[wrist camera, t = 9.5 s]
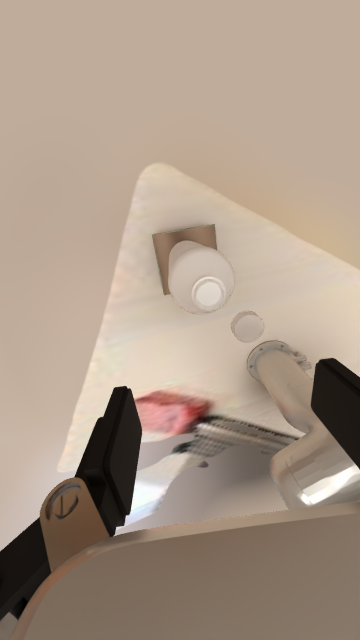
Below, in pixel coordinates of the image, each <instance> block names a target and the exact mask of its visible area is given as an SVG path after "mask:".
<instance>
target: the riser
mask: <svg viewBox="0 0 360 640" xmlns="http://www.w3.org/2000/svg"><path fill="white" fill-rule="evenodd" d="M152 237H153V242H154V247H155V252H156V257H157V263H158V268H159V273H160V278H161V283H162V288H163V293H164V295H168V294H171V293H170V291H169V286H168V275H169V254H170V252H171V250H172V248H173V247H174V246H175V245H176V244H177V243H179V242H181V241H187V240H188V241H193V242H196V243H199V244H201V245H203V246H206V247H210V248H213V249H215V250H217V245H216V233H215V224H212V225H206V226H200V227H194V228H188V229H183V230H177V231H171V232H165V233H159V234H153V235H152Z"/></svg>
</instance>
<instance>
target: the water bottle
mask: <svg viewBox="0 0 360 640" xmlns="http://www.w3.org/2000/svg"><path fill="white" fill-rule="evenodd" d="M168 286H169V291H170V293H171V296H172V298H173V299H174V301H175V302H176V303H177V304H178V305H179V306H180V307H181V308H183V309H184V310H186V311H188V312H191V313H195V314H206V313H210V312H213V311H215V310H217V309H219V308H220V307H222V306H223V305H224V304H225V303H226V302H227V300H228V299H229V297H230V296H231V294H232V291H233V287H234V272H233V269H232V266H231V264H230V262H229V261H228V259H227V258H226V257H225V256H224V255H223V254H222V253H220V252H219V251H217V250H215V249H213V248H210V247H206V246H203V245H201V244H199V243H196V242H193V241H188V240H187V241H181V242H179V243H177V244H176V245H175V246H174V247H173V248H172V250H171V252H170V254H169V275H168ZM231 329H232V332H233V333H234V335H235V336H236V338H237V339H238V340H240V341H242V342H251V341H254V340H256V339H258V338H259V337H260V336H261V334H262V333H263V330H264V323H263V321H262V319H261V318H260V317H259V316H258V315H257V314H256V313H254V312H252V311H243V312H240V313H239V314H237V315H236V316H235V317H234V318H233V320H232V323H231Z"/></svg>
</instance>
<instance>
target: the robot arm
mask: <svg viewBox="0 0 360 640" xmlns="http://www.w3.org/2000/svg"><path fill="white" fill-rule="evenodd" d="M306 360H307V358H306V356H305V355H304V356H299V357H296V356H294V354H293V351H292V350H291V348H290V347H289V346H288V345H286V344H285V343H282V342H279V341H270V342H266V343H263V344H261V345H259V346H258V347H256V348H255V349H254V350H253V351H252V352H251V354H250V356H249V358H248V361H247V367H248V370H249V372H250V374H251V375H252V376H253V377H254V378H255V379H257V380H259V381H262V383H263V384H264V386H265V388H266V389H267V391H268V392H269V394H270V396H271V397H272V399H273V400H274V402H275V404H276V405H277V407H278V408H279V410H280V412H281V413H282V415H283V416H284V418H285V419H286V421H287V422H288V423H289V424H290V425H292V426H293V427H294V428H296V429H298V430H300V431H302V432H304V433H306V435H304V436H303V437H302V438H300V439H299V440H297V441H296V442H294V443H292V444H291V445H289V446H287V447H286V448H284V449H283V450H281V451H280V452H278V453H277V454H275V455H274V456H273V458H272V459H271V461H270V471H271V475H272V478H273V480H274V483H275V485H276V487H277V489H278V491H279V493H280V495H281V496H282V498H283V500H284V502H285V504H286V506H287V507H288V509H289V510H283V511H276V512H267V513H259V514H251V515H244V516H236V517H229V518H221V519H213V520H206V521H198V522H191V523H184V524H176V525H171V526H163V527H158V528H151V529H144V530H138V531H134V532H130V533H125V534H120V535H117V536H114V535H115V531H116V527H119V526H124V524H125V518H126V515H129V514H130V511H131V505H132V498H133V491H134V485H135V478H136V471H137V464H138V457H139V450H140V443H141V437H142V427H141V423H140V419H139V416H138V412H137V409H136V405H135V402H134V398H133V394H132V391H131V389H130V388H129V389H128V388H127V386H122V387H115V388H114V389H113V392H112V395H111V397H110V400H109V403H108V405H107V408H106V411H105V414H104V416H103V417H100V418H98V420H97V422H96V424H95V427H94V429H93V432H92V434H91V437H90V439H89V442H88V444H87V447H86V449H85V452H84V454H83V457H82V459H81V462H80V464H79V467H78V469H77V472H76V474H75V477H74V478H70V479H67V480H65V481H63V482H61V483H60V484H58V485H57V486H56V487H55V488H54V489H53V490H52V491H51V492H50V493H49V494H48V496H47V497H46V499H45V500H44V502H43V504H42V507H41V510H40V517H39V518H38V519H37V520H36V521H35V522H33V523H32V524H31V525H30V526H29V527H28V528H27V529H26V530H25V531H23V532H22V533H21V534H20V535H19V536H18V537H16V538H15V539H14V540H13V541H12V542H11V543H9V545H7V546H6V547H5V548H4V549H3V550H1V551H0V640H360V377H359V376H357V375H356V374H355V373H353V372H352V371H351V370H349V369H348V368H347V367H345V366H344V365H343V364H341V363H340V362H339V361H337V360H336V359H334V358H328V359H321V360H319V362H318V363H317V364H316V367H315V375H314V380H313V379H312V378H311V377H310V376H309V375H308V374H307V373H306V372H305V371H304V370H307V369H311V364H310V363H309V362H303V363H299V364H297V363H298V362H299V361H306ZM113 536H114V537H113Z"/></svg>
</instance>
